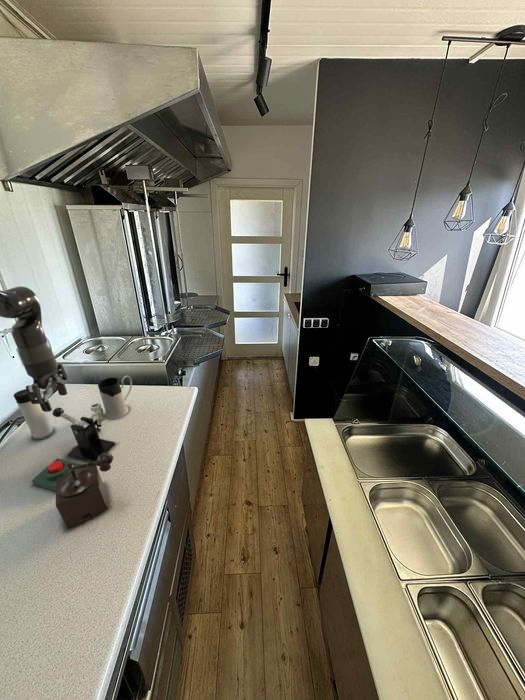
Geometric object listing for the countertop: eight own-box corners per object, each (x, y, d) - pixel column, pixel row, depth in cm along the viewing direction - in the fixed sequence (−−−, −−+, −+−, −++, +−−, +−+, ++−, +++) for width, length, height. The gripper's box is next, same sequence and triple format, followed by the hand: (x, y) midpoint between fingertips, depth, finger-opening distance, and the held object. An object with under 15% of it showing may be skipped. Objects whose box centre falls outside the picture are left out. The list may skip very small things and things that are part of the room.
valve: (91, 416, 119) (84, 436, 108) (87, 403, 116) (79, 422, 106) (109, 413, 120) (103, 432, 110) (105, 400, 118) (99, 418, 107)
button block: (34, 485, 89) (29, 476, 87) (59, 462, 97) (55, 454, 95) (61, 493, 86) (57, 483, 85) (85, 469, 94) (82, 460, 92)
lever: (49, 416, 97) (50, 409, 95) (58, 410, 100) (58, 404, 98) (82, 434, 96) (83, 428, 95) (90, 428, 99) (90, 422, 98)
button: (47, 472, 89) (45, 468, 88) (57, 463, 92) (55, 459, 91) (56, 474, 88) (54, 470, 87) (66, 465, 91) (64, 461, 90)
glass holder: (101, 415, 120) (91, 385, 113) (129, 397, 131) (122, 369, 124) (114, 421, 116) (105, 390, 109) (143, 402, 127) (135, 373, 120)
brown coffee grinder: (66, 531, 76) (41, 485, 68) (65, 500, 84) (43, 455, 76) (128, 502, 83) (112, 457, 75) (121, 475, 92) (107, 432, 84)
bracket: (68, 456, 99) (55, 428, 94) (88, 438, 107) (78, 411, 102) (96, 463, 96) (85, 434, 91) (115, 444, 104) (106, 416, 99)
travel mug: (30, 441, 106) (8, 397, 98) (38, 429, 112) (18, 387, 103) (48, 439, 107) (28, 395, 99) (56, 427, 113) (37, 384, 105)
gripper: (40, 347, 89) (56, 390, 96) (6, 369, 76) (28, 417, 84) (64, 346, 90) (79, 389, 97) (35, 368, 77) (55, 416, 84)
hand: (56, 402), depth 90 cm, fingers open, 8 cm apart
